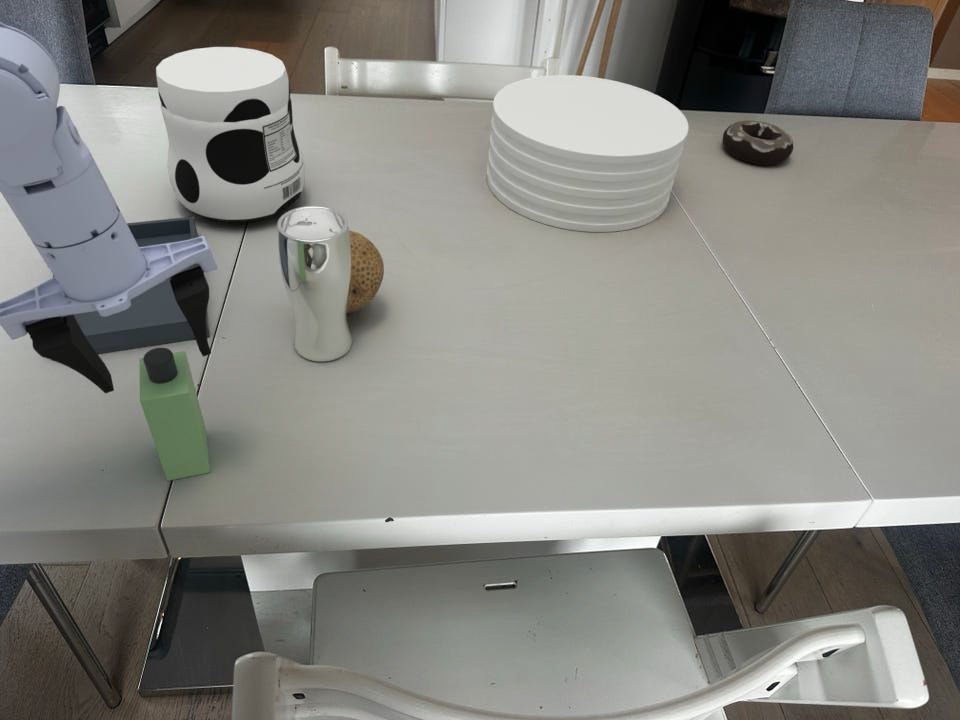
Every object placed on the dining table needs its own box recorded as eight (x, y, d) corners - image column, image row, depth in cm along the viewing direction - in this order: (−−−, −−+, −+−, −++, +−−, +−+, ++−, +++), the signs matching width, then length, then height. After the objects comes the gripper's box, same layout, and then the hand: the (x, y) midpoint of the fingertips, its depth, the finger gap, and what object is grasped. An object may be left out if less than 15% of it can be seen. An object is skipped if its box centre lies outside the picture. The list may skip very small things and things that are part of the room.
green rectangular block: (167, 481, 62) (133, 382, 54) (165, 438, 66) (133, 339, 58) (210, 472, 63) (183, 373, 55) (206, 430, 67) (180, 332, 59)
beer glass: (310, 317, 80) (298, 198, 70) (366, 333, 79) (362, 214, 69) (278, 354, 75) (260, 231, 65) (337, 372, 74) (328, 249, 64)
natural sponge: (368, 344, 77) (365, 267, 71) (291, 328, 78) (281, 251, 72) (393, 297, 84) (393, 223, 78) (322, 283, 85) (316, 209, 79)
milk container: (179, 173, 102) (151, 43, 90) (303, 168, 106) (291, 43, 94) (172, 238, 90) (138, 97, 78) (312, 229, 94) (299, 94, 82)
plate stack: (699, 187, 112) (721, 116, 104) (605, 255, 95) (623, 177, 87) (555, 129, 124) (565, 61, 116) (448, 180, 107) (452, 105, 99)
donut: (800, 168, 120) (810, 146, 117) (736, 168, 118) (744, 146, 115) (769, 138, 128) (777, 117, 125) (709, 138, 126) (715, 116, 123)
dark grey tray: (52, 360, 72) (43, 341, 70) (65, 248, 86) (58, 230, 85) (210, 337, 76) (205, 318, 75) (197, 234, 91) (193, 216, 89)
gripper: (-44, 293, 43) (66, 435, 52) (195, 216, 47) (257, 361, 56) (-42, 236, 47) (59, 377, 57) (176, 170, 51) (236, 312, 61)
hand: (157, 365), depth 57 cm, fingers open, 7 cm apart
